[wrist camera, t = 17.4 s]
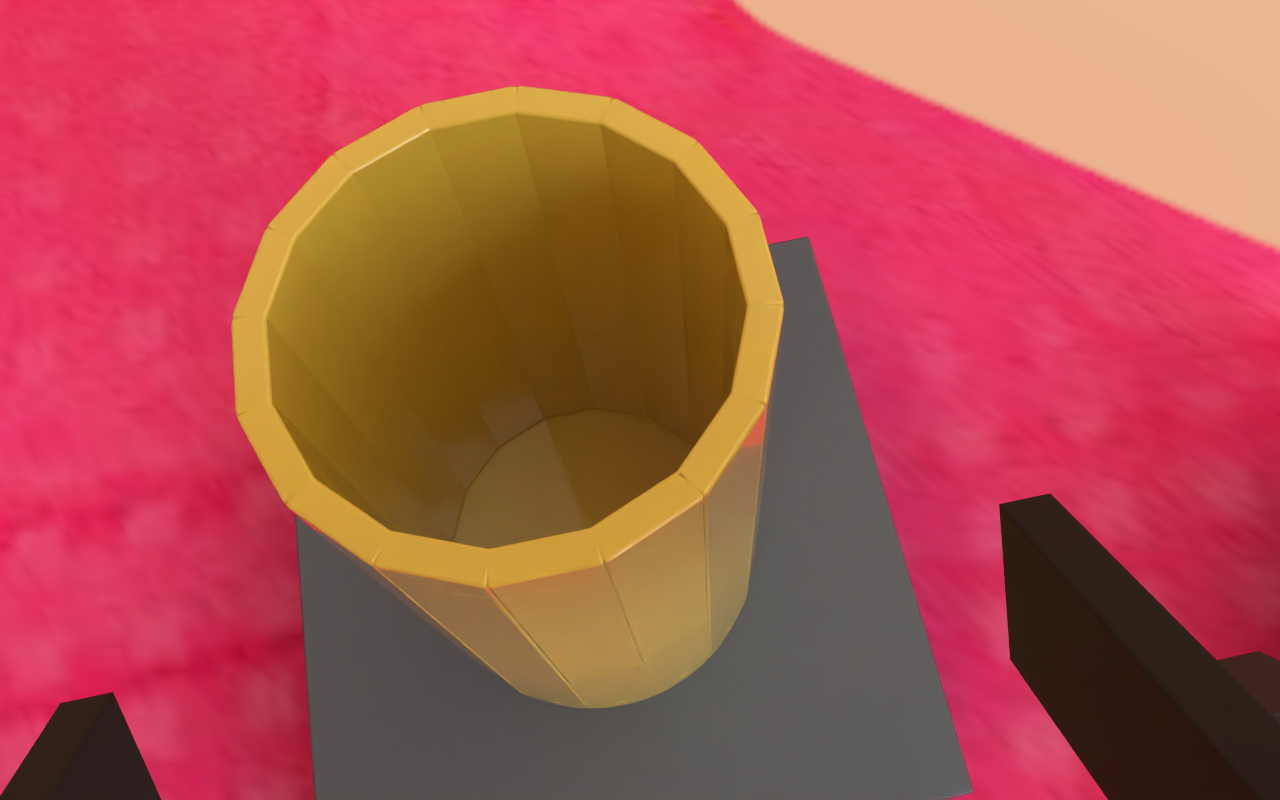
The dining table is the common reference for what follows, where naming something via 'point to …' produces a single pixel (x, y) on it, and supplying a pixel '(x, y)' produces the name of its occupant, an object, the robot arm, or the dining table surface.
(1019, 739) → the dining table surface
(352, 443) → the yellow cup
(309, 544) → the grey block
